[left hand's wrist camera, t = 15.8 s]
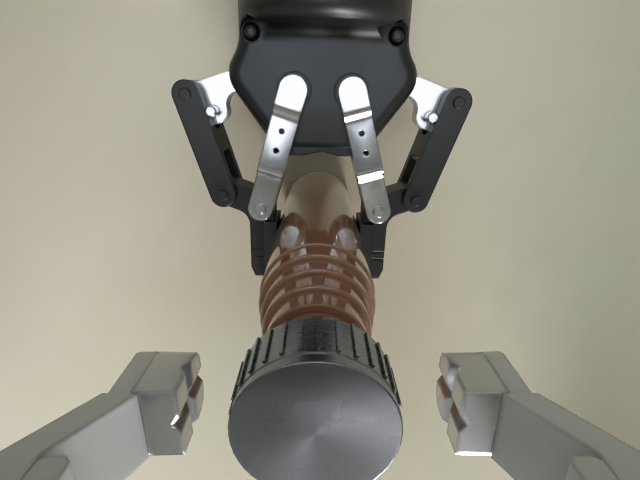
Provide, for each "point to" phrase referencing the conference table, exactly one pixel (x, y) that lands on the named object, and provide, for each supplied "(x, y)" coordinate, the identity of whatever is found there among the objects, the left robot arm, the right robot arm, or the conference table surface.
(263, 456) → the cap
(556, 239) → the conference table surface
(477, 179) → the conference table surface
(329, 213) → the ribbed copper cylinder
